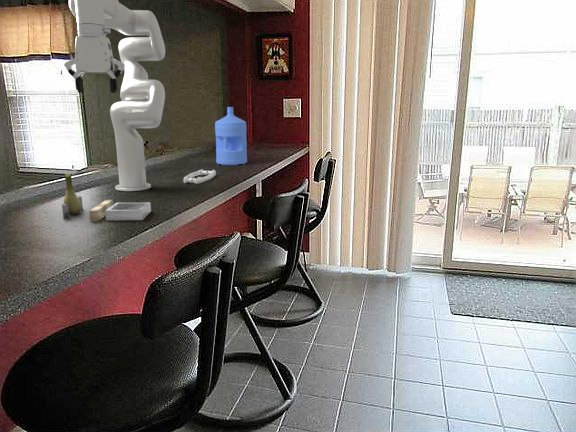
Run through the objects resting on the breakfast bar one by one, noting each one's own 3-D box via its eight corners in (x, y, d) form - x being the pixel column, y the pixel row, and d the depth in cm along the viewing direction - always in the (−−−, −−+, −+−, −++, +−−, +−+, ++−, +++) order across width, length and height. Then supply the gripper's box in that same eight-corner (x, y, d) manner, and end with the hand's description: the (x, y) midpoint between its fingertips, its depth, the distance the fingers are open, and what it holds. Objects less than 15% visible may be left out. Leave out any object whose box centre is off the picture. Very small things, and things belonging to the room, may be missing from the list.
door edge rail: (106, 209, 142) (105, 199, 141) (113, 209, 142) (112, 199, 141) (90, 221, 128) (88, 211, 128) (97, 221, 128) (96, 211, 128)
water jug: (224, 160, 246) (222, 106, 239) (251, 162, 242) (250, 106, 235) (210, 164, 232) (208, 107, 225) (239, 166, 227) (238, 107, 220)
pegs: (78, 209, 142) (77, 196, 141) (83, 209, 142) (82, 196, 141) (62, 218, 131) (60, 205, 130) (68, 218, 131) (66, 205, 130)
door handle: (177, 185, 183) (199, 174, 207) (201, 185, 181) (220, 174, 205) (177, 178, 182) (198, 168, 206) (201, 179, 181) (220, 168, 205)
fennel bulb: (70, 211, 140) (65, 171, 137) (86, 211, 139) (82, 172, 136) (60, 216, 134) (55, 175, 131) (76, 216, 134) (72, 175, 131)
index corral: (117, 211, 139) (116, 202, 138) (151, 211, 140) (150, 202, 139) (106, 220, 129) (105, 210, 129) (142, 220, 130) (141, 210, 129)
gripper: (125, 34, 141) (129, 93, 145) (66, 34, 140) (72, 93, 144) (118, 30, 133) (122, 92, 137) (56, 30, 132) (62, 92, 136)
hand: (97, 92), depth 140 cm, fingers open, 9 cm apart
